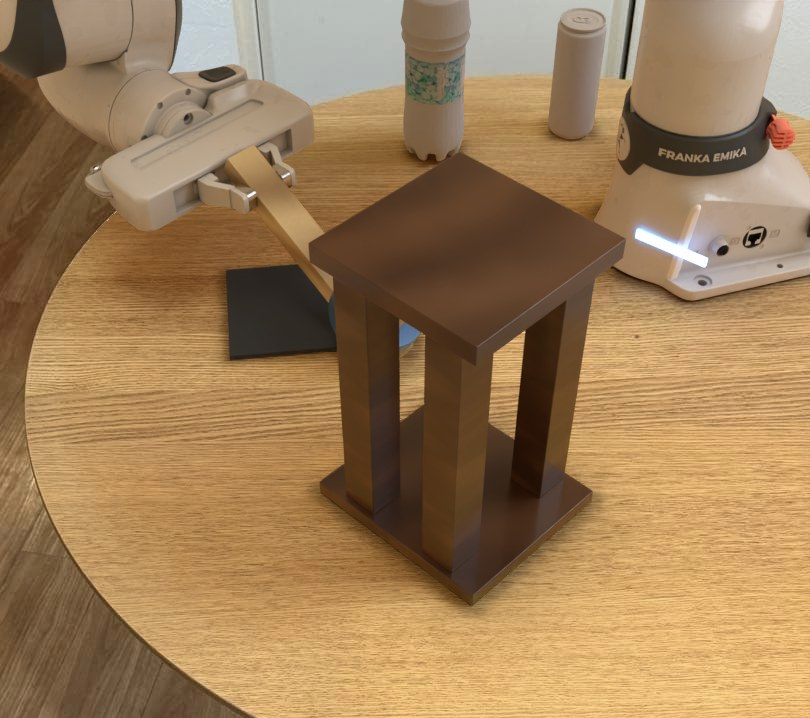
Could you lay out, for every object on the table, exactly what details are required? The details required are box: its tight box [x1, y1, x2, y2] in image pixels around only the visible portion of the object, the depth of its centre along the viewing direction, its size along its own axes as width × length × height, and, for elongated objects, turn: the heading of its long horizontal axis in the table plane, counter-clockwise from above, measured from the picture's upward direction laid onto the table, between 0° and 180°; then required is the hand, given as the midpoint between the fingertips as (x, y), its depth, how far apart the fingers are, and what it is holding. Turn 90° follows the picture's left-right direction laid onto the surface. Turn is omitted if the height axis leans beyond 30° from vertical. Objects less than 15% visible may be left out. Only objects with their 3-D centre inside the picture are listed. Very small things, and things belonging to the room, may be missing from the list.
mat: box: [225, 263, 337, 361], centre depth 104 cm, size 16×12×1 cm
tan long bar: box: [223, 145, 422, 359], centre depth 98 cm, size 22×8×4 cm, turn 46°
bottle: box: [400, 0, 472, 162], centre depth 113 cm, size 7×7×20 cm
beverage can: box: [547, 7, 608, 140], centre depth 118 cm, size 5×5×12 cm
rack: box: [308, 151, 626, 607], centre depth 81 cm, size 16×14×24 cm
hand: (271, 192), depth 99 cm, fingers closed on tan long bar, 3 cm apart
